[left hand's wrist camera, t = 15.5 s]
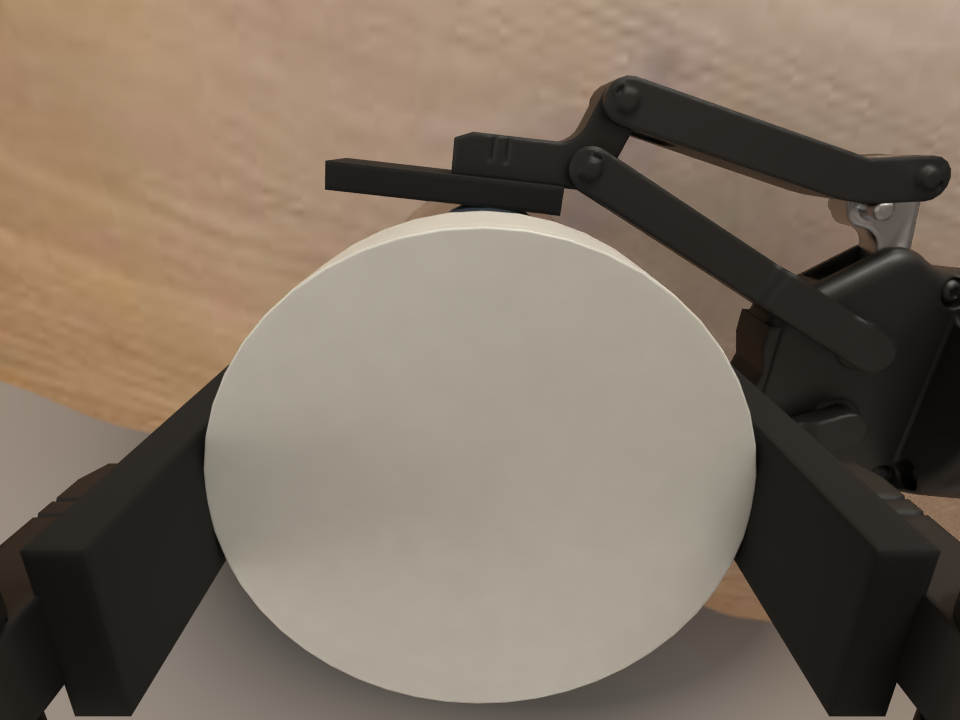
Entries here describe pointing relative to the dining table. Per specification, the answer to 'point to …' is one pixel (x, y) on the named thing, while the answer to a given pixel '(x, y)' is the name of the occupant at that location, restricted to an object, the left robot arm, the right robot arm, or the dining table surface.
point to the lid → (480, 460)
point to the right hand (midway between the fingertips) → (334, 320)
